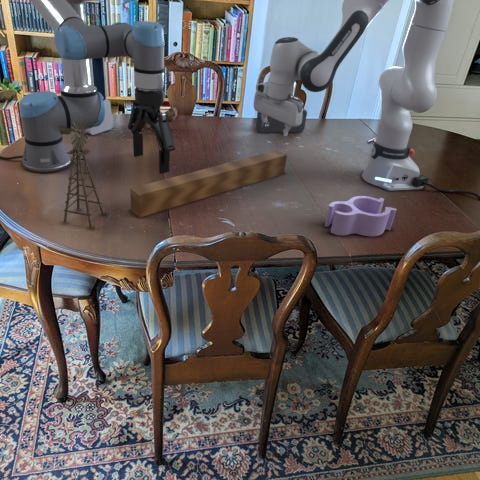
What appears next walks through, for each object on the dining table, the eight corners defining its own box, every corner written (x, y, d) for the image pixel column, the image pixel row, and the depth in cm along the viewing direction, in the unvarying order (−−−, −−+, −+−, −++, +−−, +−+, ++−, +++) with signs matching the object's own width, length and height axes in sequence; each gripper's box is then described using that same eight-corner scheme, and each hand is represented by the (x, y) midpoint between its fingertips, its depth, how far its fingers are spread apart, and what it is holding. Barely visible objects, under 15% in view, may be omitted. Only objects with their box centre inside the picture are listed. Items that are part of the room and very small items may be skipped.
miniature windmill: (90, 229, 128) (80, 122, 112) (62, 223, 129) (47, 117, 113) (105, 213, 136) (97, 111, 119) (78, 208, 137) (67, 106, 120)
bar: (139, 217, 136) (139, 195, 132) (131, 210, 139) (130, 188, 135) (284, 173, 171) (287, 154, 167) (274, 168, 174) (277, 150, 170)
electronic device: (90, 136, 184) (84, 56, 167) (77, 131, 187) (69, 52, 170) (113, 128, 193) (109, 52, 177) (100, 123, 196) (95, 48, 180)
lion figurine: (175, 126, 202) (175, 105, 197) (178, 130, 198) (178, 109, 193) (141, 127, 197) (140, 106, 192) (143, 131, 193) (143, 110, 188)
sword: (405, 131, 224) (406, 128, 224) (410, 133, 222) (411, 130, 222) (362, 142, 208) (362, 140, 208) (367, 144, 206) (368, 142, 206)
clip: (337, 240, 135) (342, 219, 131) (318, 218, 145) (322, 198, 141) (395, 233, 141) (402, 213, 137) (373, 213, 151) (378, 194, 147)
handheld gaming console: (301, 129, 213) (305, 108, 208) (304, 131, 211) (308, 110, 205) (254, 131, 206) (257, 108, 200) (257, 133, 204) (259, 110, 198)
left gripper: (189, 98, 115) (187, 177, 127) (137, 75, 131) (139, 146, 142) (163, 102, 111) (164, 183, 122) (112, 77, 126) (117, 151, 138)
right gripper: (310, 98, 149) (303, 139, 156) (266, 81, 161) (261, 120, 169) (296, 100, 145) (290, 142, 152) (252, 83, 157) (248, 123, 165)
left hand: (150, 163), depth 132 cm, fingers open, 13 cm apart
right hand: (274, 131), depth 161 cm, fingers open, 8 cm apart
